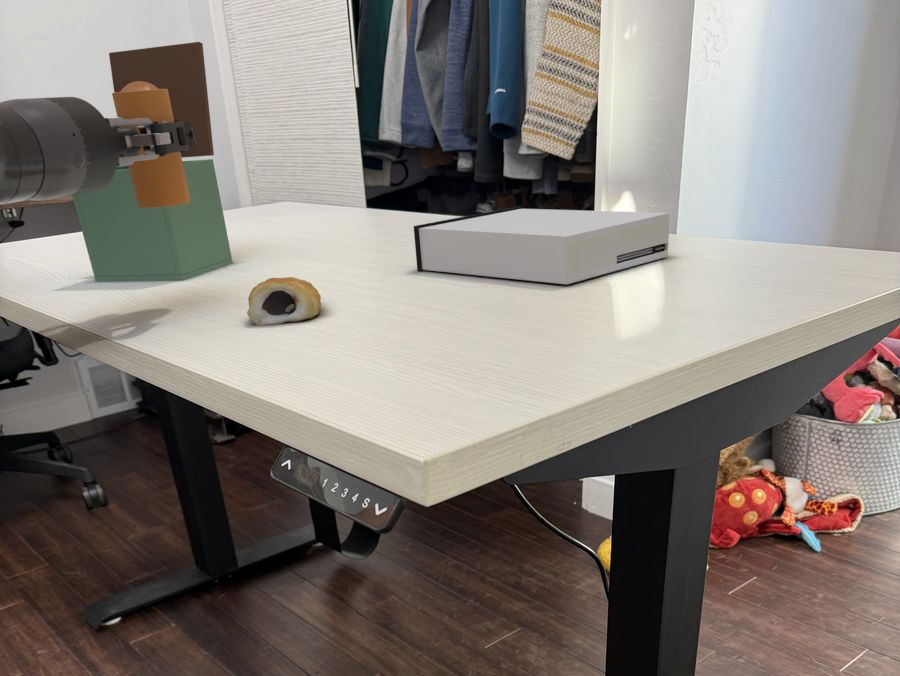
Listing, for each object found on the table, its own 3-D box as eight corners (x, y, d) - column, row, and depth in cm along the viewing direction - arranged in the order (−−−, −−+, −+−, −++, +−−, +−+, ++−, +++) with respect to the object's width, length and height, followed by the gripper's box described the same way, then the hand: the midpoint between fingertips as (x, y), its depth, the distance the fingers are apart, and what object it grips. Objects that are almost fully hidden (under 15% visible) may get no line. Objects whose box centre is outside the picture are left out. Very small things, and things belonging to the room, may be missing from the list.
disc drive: (519, 248, 110) (518, 205, 108) (668, 258, 95) (671, 209, 93) (416, 272, 100) (412, 226, 98) (565, 288, 85) (565, 234, 83)
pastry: (263, 308, 88) (256, 268, 87) (328, 303, 88) (323, 263, 86) (247, 328, 80) (240, 286, 78) (319, 323, 80) (313, 280, 78)
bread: (127, 208, 86) (97, 83, 81) (158, 202, 91) (132, 83, 85) (170, 206, 85) (143, 79, 79) (200, 200, 89) (176, 78, 83)
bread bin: (183, 281, 107) (158, 167, 101) (95, 283, 112) (66, 173, 105) (233, 264, 117) (213, 159, 110) (150, 266, 121) (126, 165, 115)
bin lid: (198, 41, 105) (202, 43, 106) (108, 52, 110) (112, 54, 110) (210, 154, 110) (214, 155, 110) (123, 161, 114) (127, 161, 115)
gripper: (103, 91, 69) (218, 87, 83) (-33, 104, 74) (98, 98, 87) (128, 194, 73) (234, 174, 86) (-3, 200, 77) (117, 180, 91)
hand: (165, 136), depth 87 cm, fingers closed on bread, 5 cm apart
